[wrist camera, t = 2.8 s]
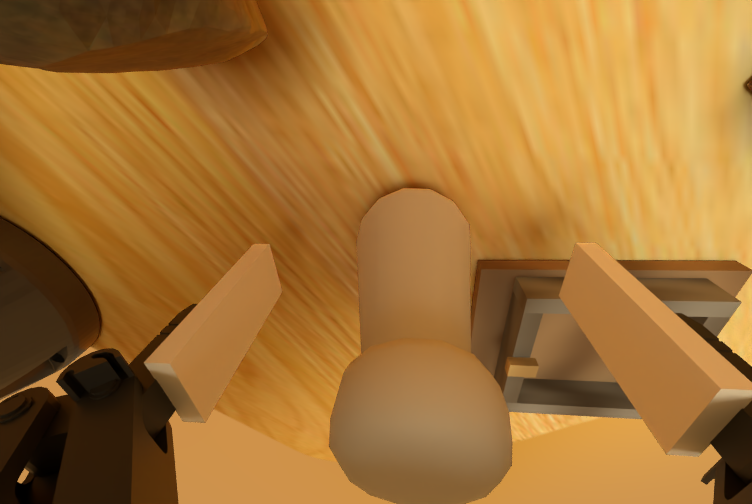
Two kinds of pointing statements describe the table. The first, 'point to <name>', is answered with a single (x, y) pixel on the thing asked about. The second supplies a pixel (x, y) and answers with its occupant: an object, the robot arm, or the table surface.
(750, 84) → the box
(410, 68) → the table surface
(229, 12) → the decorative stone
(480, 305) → the base
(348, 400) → the salt shaker
